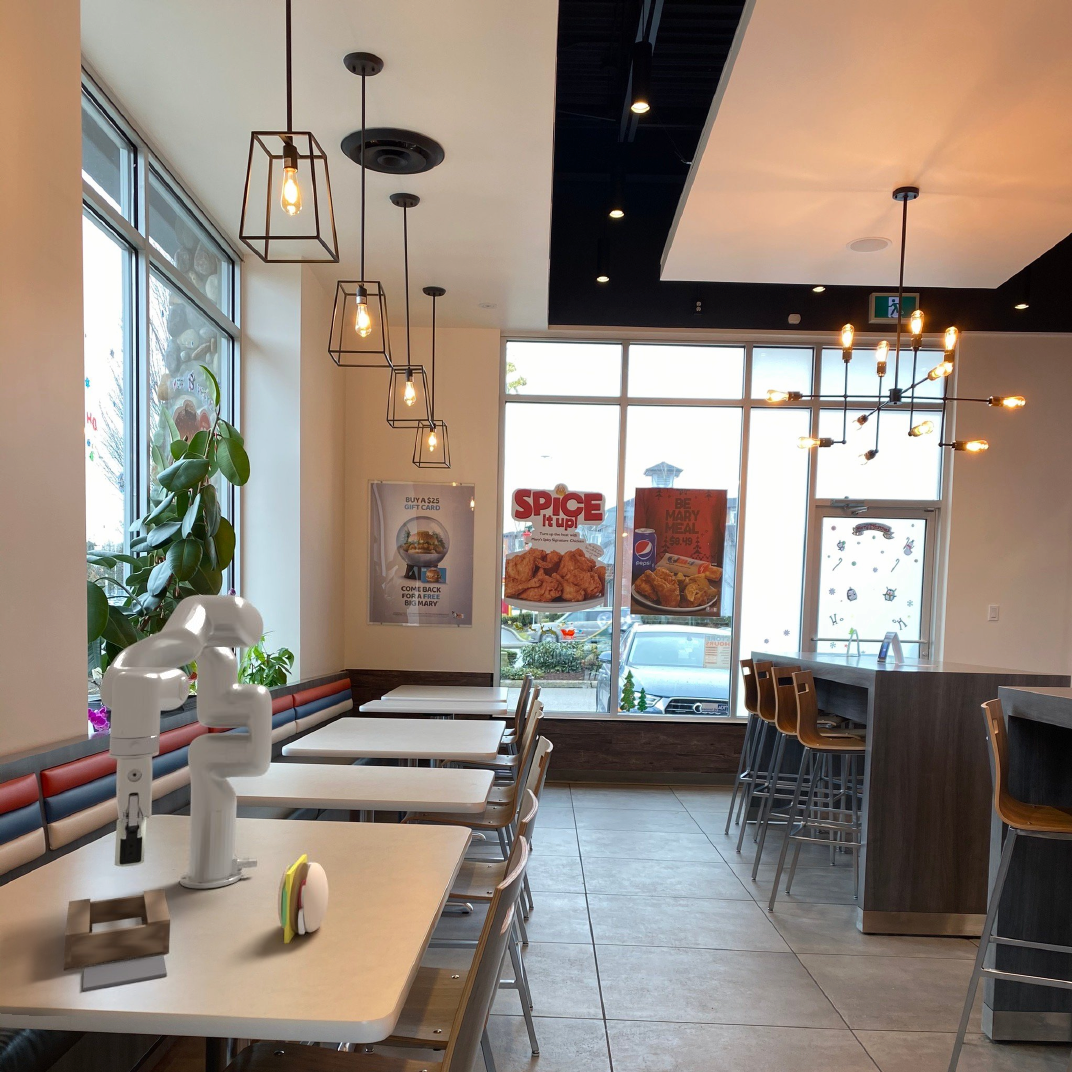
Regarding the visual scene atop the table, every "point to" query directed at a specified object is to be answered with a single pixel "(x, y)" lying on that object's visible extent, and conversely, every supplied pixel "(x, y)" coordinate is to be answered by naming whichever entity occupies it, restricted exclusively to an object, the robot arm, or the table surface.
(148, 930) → the walnut box
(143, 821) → the sage cylinder
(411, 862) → the table surface
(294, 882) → the hamburger
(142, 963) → the rubber mat
